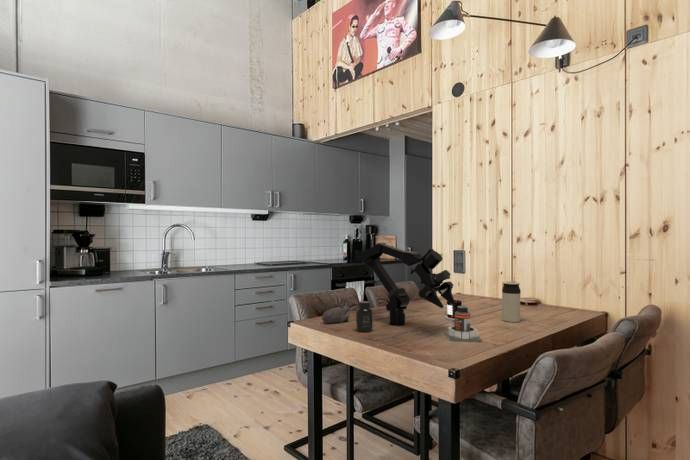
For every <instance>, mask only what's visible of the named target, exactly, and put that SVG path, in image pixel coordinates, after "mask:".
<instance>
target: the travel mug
mask: <svg viewBox="0 0 690 460" xmlns="http://www.w3.org/2000/svg"><path fill="white" fill-rule="evenodd" d="M502 284H503V286H502V288H501V291H502V292H501V310H502V311H501V319H502V320H503V322H508V323H519V322H520V321H521V294H522V293H521V288H520V284H521V283H520V282H519V281H511V280H510V281H509V280H507V281H505V280H504V281H503V282H502Z"/></svg>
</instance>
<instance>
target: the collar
mask: <svg viewBox="0 0 690 460" xmlns="http://www.w3.org/2000/svg"><path fill="white" fill-rule="evenodd" d="M454 327H455V325H450V326H447V330H445V331H444V334H445V336H446V337H447V339H448V340H449V342H470V343H471V342H472V343H473V342H476V343H482V342H483V339H482V338H481V337H480V336H479V330H478V328H476V327H474V326H471V325H470V331H457V330H455V328H454Z"/></svg>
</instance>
